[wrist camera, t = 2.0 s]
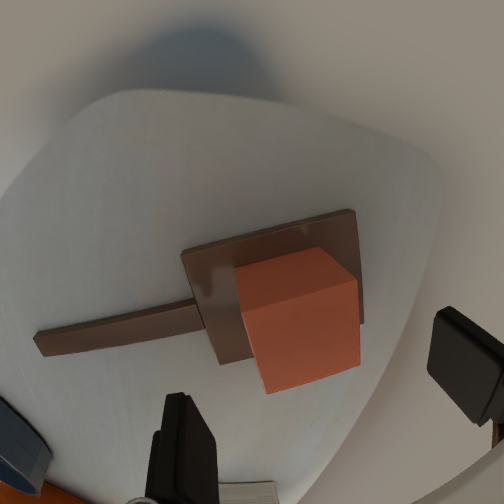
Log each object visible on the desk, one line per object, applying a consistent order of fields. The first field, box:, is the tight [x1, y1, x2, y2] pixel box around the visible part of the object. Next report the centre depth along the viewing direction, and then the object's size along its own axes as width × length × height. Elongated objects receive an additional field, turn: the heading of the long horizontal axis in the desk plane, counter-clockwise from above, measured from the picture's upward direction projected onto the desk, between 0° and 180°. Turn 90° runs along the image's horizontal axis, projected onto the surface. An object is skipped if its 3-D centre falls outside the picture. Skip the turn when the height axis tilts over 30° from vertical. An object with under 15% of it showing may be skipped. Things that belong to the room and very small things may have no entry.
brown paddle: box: [33, 209, 364, 365], centre depth 15 cm, size 7×21×1 cm, turn 103°
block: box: [234, 246, 360, 394], centre depth 13 cm, size 4×4×4 cm
